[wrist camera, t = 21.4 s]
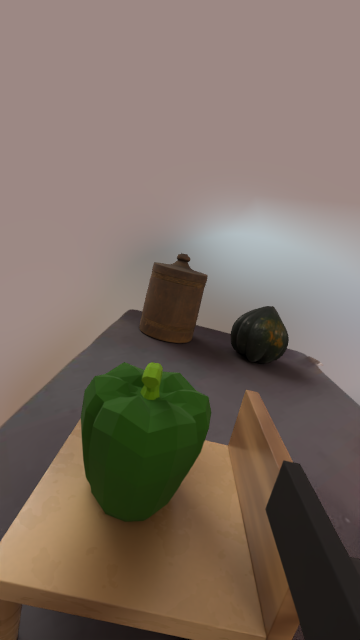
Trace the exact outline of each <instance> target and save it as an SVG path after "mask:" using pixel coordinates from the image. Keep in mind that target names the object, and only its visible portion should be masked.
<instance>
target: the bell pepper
mask: <svg viewBox="0 0 360 640" xmlns="http://www.w3.org/2000/svg"><path fill="white" fill-rule="evenodd" d="M162 369H163V367H162V366H161V365H160V364H158V363H153V362H152V363H149V364H148V365H147V367H146V369H145V371H144V370H143V369H140V368H137V367H135V366H132V365H130V364H127V363H125V362H124V363H122V364H121V365H119V366H117V367H116V368H114V369H113V370H111V371H110V372H108V373H106V374H104V375H99V376H95V377H94V378H93V380H92V381H91V383H90V384H89V385H88V387H87V388H86V390H85V393H84V400H83V406H82V413H81V434H82V449H83V462H84V469H85V475H86V479H87V481H88V482H89V484H90V486H91V493H92V494H93V496H94V497H95V499H96V500H97V502H98V503H99V505H100V506H101V508H102V509H103V511H104V512H105V514H107V515H110V516H112V517H114V518H117V519H119V520H122V521H124V522H132V521H144V520H146V519H148V518H149V517H151V516H152V515H153V514H155V513H156V512H157V511H159V510H160V509H161V508H163V507H164V506H165V505H167V504H168V503H169V501H170V500H171V498H172V497H173V495H174V494H175V493H176V491H177V490H178V488H179V486H180V485H181V483H182V481H183V480H184V478H185V477H186V475H187V474H188V473H189V471H190V469H191V468H192V466H193V464H194V463H195V461H196V459H197V458H198V456H199V454H200V453H201V450H202V447H203V444H204V441H205V438H206V435H207V432H208V429H209V423H210V416H211V409H210V403H209V398H208V396H206V395H204V394H201V393H199V392H197V391H196V390H195V389H194V388H193V387H192V386H191V385H190V384H189V382H188V381H187V380H186V379H185V378H184V377H183V376H182V375H181V374H180V373H173V372H162Z"/></svg>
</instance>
